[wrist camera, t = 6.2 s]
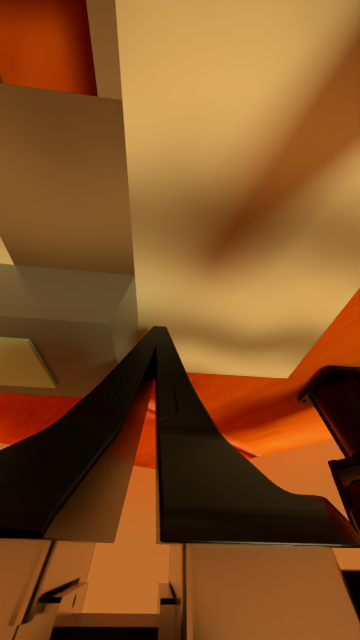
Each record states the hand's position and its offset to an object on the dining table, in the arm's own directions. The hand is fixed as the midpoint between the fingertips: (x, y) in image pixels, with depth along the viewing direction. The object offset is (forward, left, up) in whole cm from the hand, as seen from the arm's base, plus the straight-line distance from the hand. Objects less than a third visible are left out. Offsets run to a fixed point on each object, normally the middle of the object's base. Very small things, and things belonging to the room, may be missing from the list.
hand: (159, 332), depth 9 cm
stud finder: (0, +5, -2) cm, 5 cm away
